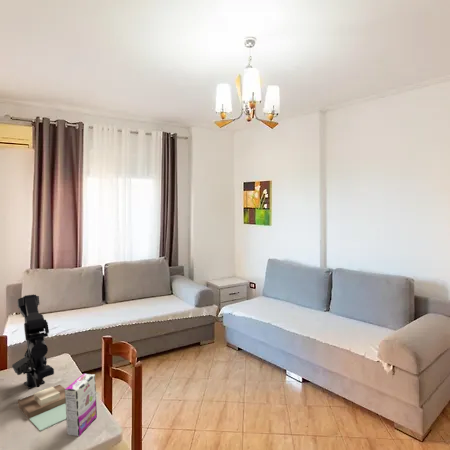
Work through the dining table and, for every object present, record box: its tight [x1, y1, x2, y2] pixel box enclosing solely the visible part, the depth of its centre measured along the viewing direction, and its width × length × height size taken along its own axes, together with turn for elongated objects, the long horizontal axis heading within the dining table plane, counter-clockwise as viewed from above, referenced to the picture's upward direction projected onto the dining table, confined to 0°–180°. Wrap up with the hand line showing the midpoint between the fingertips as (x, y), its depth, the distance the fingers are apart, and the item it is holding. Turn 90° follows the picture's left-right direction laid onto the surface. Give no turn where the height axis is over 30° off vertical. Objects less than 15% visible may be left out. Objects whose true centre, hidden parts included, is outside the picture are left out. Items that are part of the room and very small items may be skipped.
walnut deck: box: [17, 384, 66, 419], centre depth 138 cm, size 12×16×2 cm
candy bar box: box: [65, 373, 98, 437], centre depth 124 cm, size 11×5×16 cm, turn 168°
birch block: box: [33, 386, 60, 406], centre depth 137 cm, size 7×7×2 cm
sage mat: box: [29, 403, 67, 432], centre depth 131 cm, size 10×16×1 cm, turn 138°
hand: (37, 386), depth 143 cm, fingers closed
